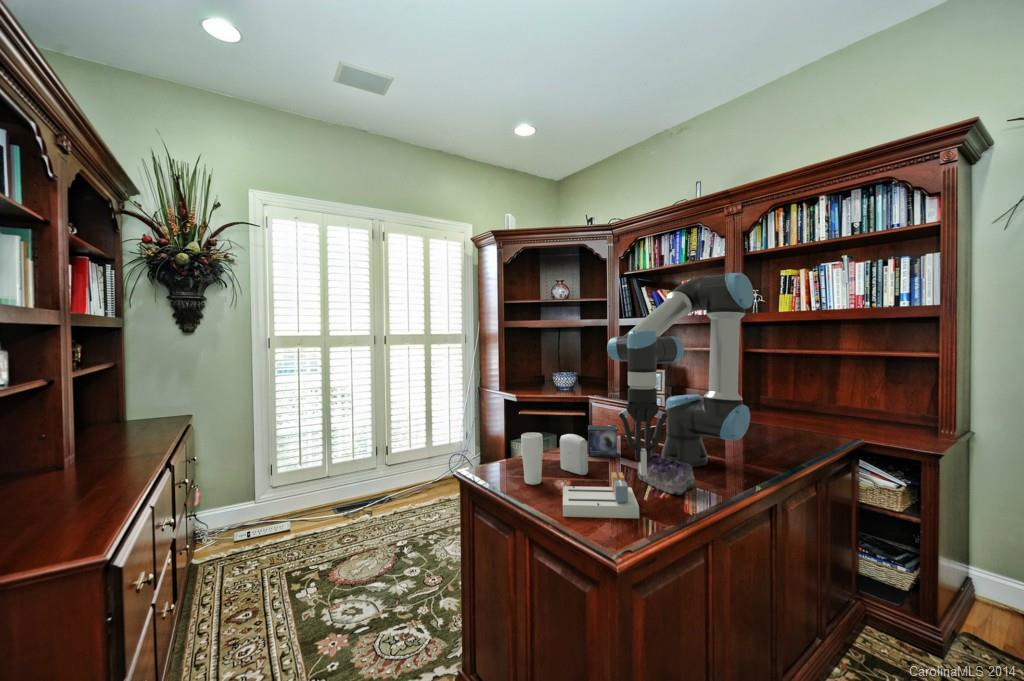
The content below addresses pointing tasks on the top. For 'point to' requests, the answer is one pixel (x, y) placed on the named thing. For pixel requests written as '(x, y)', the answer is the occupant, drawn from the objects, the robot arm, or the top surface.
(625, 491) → the slate fader
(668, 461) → the geode
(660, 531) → the top surface
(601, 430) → the small box
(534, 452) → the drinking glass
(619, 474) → the orange fader
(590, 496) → the fader console
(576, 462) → the white slotted device
